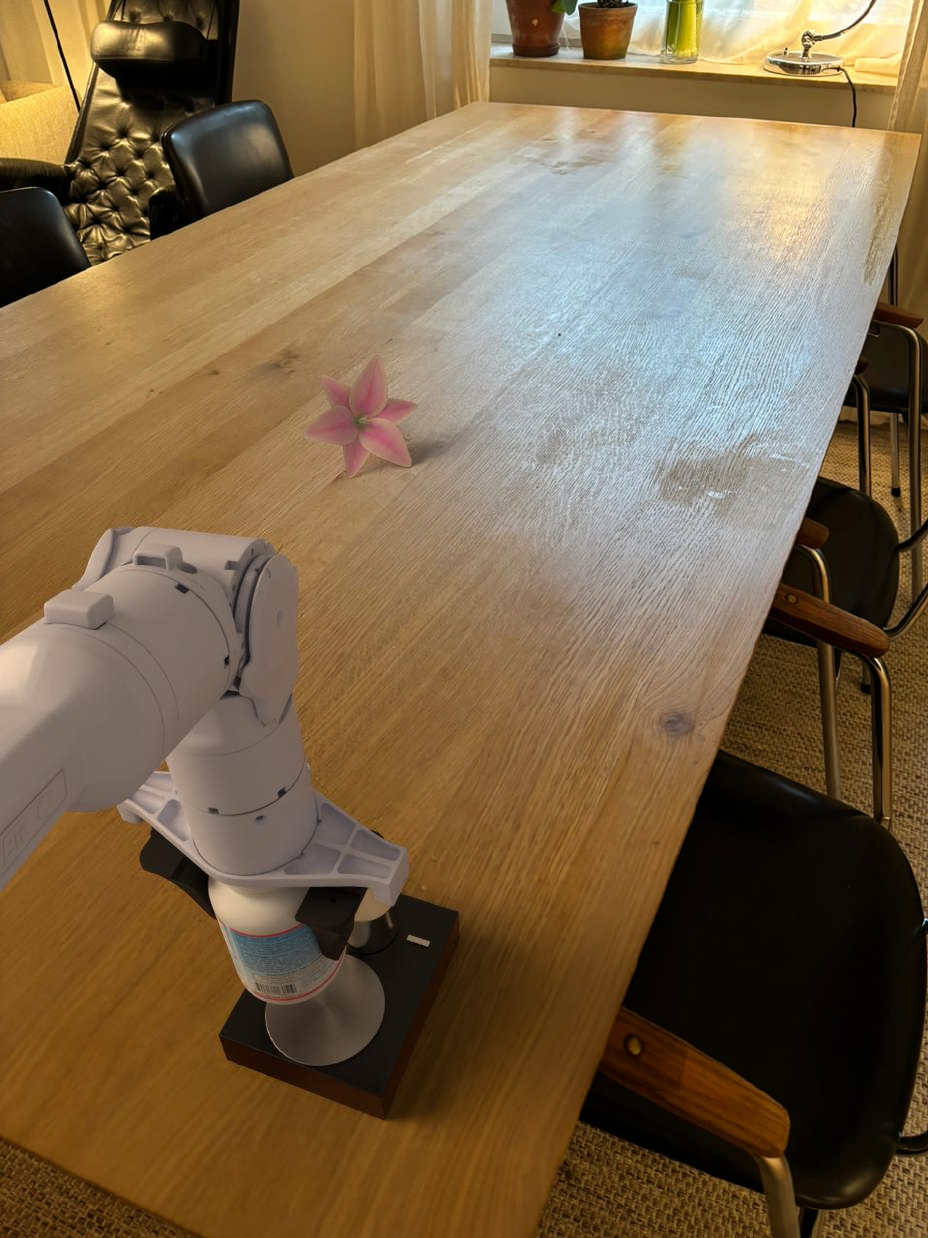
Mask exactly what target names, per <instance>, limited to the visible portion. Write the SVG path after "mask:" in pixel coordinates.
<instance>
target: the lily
mask: <svg viewBox="0 0 928 1238" xmlns="http://www.w3.org/2000/svg"><path fill="white" fill-rule="evenodd" d="M387 377H388V376H387V372H386V368H385V362H384V360H383V357H382V356H381V355H380V354H374V356H373V357H371V358H370V359H369V361H368V362H367V363H366V364H365V366H364V367H363V368H362V370H361V371H360V373H359V374H358V376H357V377H356V378H355V380H354V381H353V383H352V385H351V386H350V385H348V384H347V383H345V382H344V381H341V380H338V379H336V378H334V377H331V376H328V375H325V374H319V375H318V380H319V384H320V386H321V389H322V391H323V393H324V395H325V398H326V401H327V402H328V404H329V406H330V407H329V408H328V409H326V410H325V411H324V412H322V413H321V414H319V415H318V416H317V417H316V418H315V419H313V420H312V421H311V422H310V423H309V424H308V425H307V426H305V428H303V430H302V431H301V433H300V437H301V438H303V439H304V440H307V441H310V442H317V443H321V444H322V443H323V444H328V445H335V446H342V455H343V461H344V465H345V471H346V475H347V477H348V478H349V479H352V478H354V477H355V476H356V474H357V473H358V472H359V471H360V470H361V469H362V467H363V466H364V464H365V463H366V461H367V460H368V458H369V457H370V455H371V454H372V455H374V456H376V457H378V458H380V459H382V460H385V461H388V462H390V463H393V464H394V465H397V466H400V467H404V468H411V467H412V464H413V462H412V457H411V455H410V454H411V453H410V451H409V448H408V446H407V444H406V441H405V439H404V437H403V434H402V432H401V431H400V429H399V428H398V425H400V424H401V423H402V422H404V421H405V420H406V419H408V418H409V417H410V416H411V415H412V414H413V413H414V412H415V411H416V410H417V409H418V406H419V405H418V404H417V402H413V401H411V400H405V399H401V398H392V397H389V384H388V378H387Z"/></svg>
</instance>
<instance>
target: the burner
mask: <svg viewBox="0 0 928 1238" xmlns="http://www.w3.org/2000/svg"><path fill="white" fill-rule="evenodd" d="M384 1012H385V996H384V991H383V987H382V985H381V982H380V980H379V978H378V976H377V975H376V974H375V972H374V971H373V970H372V969H371V968H370V967H369V966H368V965H367V964H365V963H364V962H363V961H361V960H359V959H358V958H355V957H353V956H350V955H347V954H345V956H344V960H343V962H342V965H341V967H340V969H339V971H338V973H337V974H336V976H335V977H334V979H333V980H332V981H331V982H330V984H329V985H328V986H327V987H326V988H325V989H323V990H322V991H321V992H320V993H318V994H317V995H316V996H314V997H312V998H310V999H308V1000H306V1001H303V1002H300V1003H295V1004H287V1005H281V1004H273V1003H269V1002H267V1005H266V1012H265V1019H266V1026H267V1030H268V1033H269V1036H270V1038H271V1040H272V1042H273V1044H274V1045H275V1047H276V1048H277V1049H278V1050H279V1051H280V1052H281V1053H282V1054H283V1055H284V1056H286V1057H287V1058H289V1059H290V1060H292V1061H294V1062H296V1063H298V1064H302V1065H305V1066H311V1067H327V1066H332V1065H337V1064H340V1063H342V1062H345V1061H347V1060H349V1059H351V1058H353V1057H354V1056H356V1055H357V1054H359V1053H360V1052H361V1051H363V1050H364V1049H365V1048H366V1047H367V1046H368V1045H369V1044H370V1043H371V1041H372V1040H373V1039H374V1037H375V1036H376V1034H377V1032H378V1030H379V1029H380V1026H381V1024H382V1021H383V1017H384Z"/></svg>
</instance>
